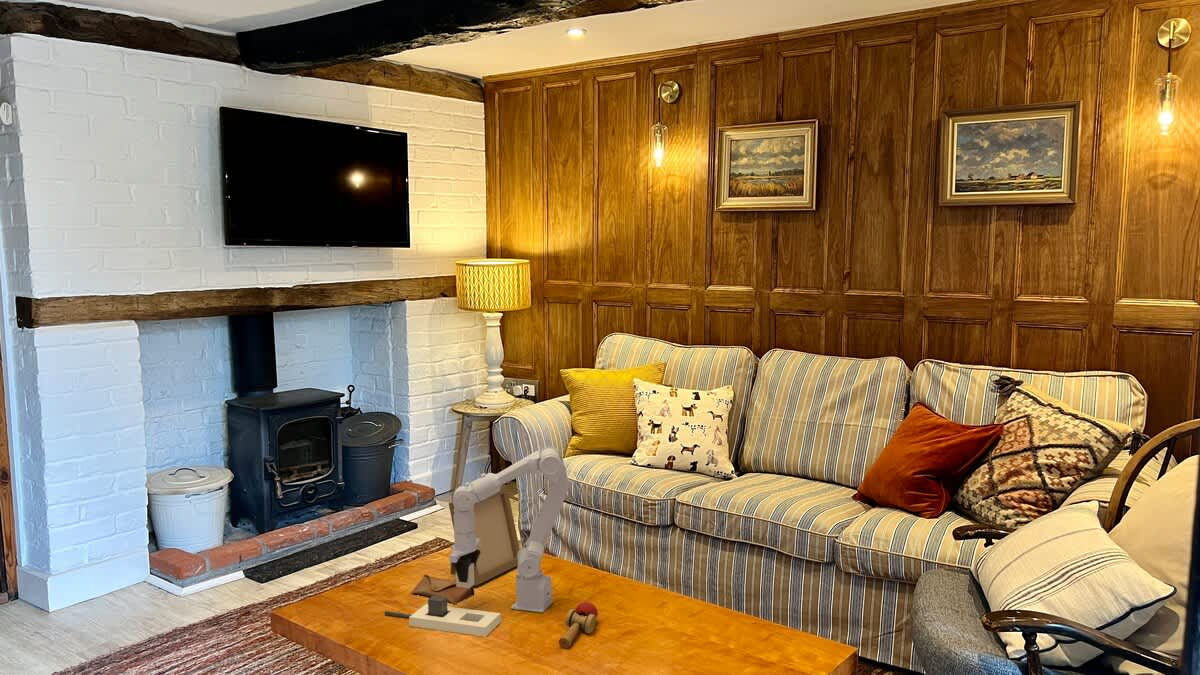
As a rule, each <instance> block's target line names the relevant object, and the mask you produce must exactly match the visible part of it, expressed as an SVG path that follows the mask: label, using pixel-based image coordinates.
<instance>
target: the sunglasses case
mask: <svg viewBox="0 0 1200 675" xmlns="http://www.w3.org/2000/svg"><path fill="white" fill-rule="evenodd" d="M409 593H410V594H409V595H411V594H413V595H412V596H417V595H419V596H418V597H422V596H423V598H427V597H428V598H427V599H429V598H431V597H432V596H433V595H435V596H443V597H447V604H448V603H449V604H451V603H452V604H451V605H455V604H456V605H458V604H457V603H459V602H460V603H462V602H463V600H464V599H466V600H467V599H469V598H471V597H472V596H471V595H475V588H474V586H472V587H470V588H464V587H456V581H453V580H450V579H445V578H439V577H434V576H431V575H428V574H424V575H423V577H422V578H421V580H420V581H419V582H418V583H417V585H416V586H415V587H414V588H413V589H412V590H411V592H409ZM470 596H471V597H470ZM468 597H469V598H468ZM461 601H462V602H461ZM464 601H465V600H464ZM460 603H459V604H460Z"/></svg>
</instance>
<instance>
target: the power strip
mask: <svg viewBox="0 0 1200 675" xmlns="http://www.w3.org/2000/svg"><path fill="white" fill-rule="evenodd" d="M384 615H385V616H389V617H399V618H406V619H408V620H409V623H408V624H409V627H412V626H413V627H412V628H419V627H420V629H427V630H433V629H434V630H435V631H440V630H441V631H440V632H449V633H456V634H464V635H469V634H470V635H469V636H477V637H484V638H486V637H487V636H488V635H489V634H490V633H491V632H493V630H494V629H496V628H497V627H498V626H499V625H498V624H501V622H502V621H501V612H500V613H499V612H493V611H486V610H484V611H483V610H478V609H470V608H462V607H453V606H448V602H447V597H443V596H435V595H433V596H432V597H431V598H427V603H425V604H424V605H422V607H420V608H419V609H417V610H416V611H415V612H413V613H412V614H410V613H402V612H396V611H390V610H389V611H388V610H385V611H384ZM497 625H498V626H497ZM496 626H497V627H496Z"/></svg>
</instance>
